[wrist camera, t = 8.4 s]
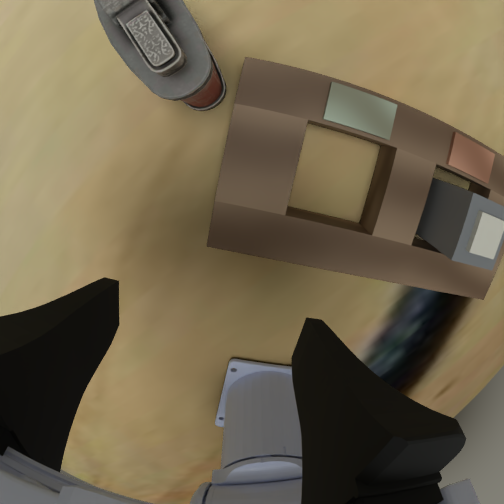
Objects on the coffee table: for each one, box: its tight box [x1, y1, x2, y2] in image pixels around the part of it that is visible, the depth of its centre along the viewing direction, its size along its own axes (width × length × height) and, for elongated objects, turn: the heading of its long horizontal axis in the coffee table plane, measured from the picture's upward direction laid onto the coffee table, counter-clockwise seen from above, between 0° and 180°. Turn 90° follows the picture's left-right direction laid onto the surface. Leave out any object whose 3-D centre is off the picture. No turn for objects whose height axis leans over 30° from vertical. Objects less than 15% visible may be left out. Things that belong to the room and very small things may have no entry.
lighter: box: [94, 0, 227, 111], centre depth 11 cm, size 8×3×10 cm, turn 30°
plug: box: [416, 178, 504, 270], centre depth 17 cm, size 4×4×6 cm
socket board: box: [207, 57, 504, 300], centre depth 18 cm, size 11×22×3 cm, turn 78°
